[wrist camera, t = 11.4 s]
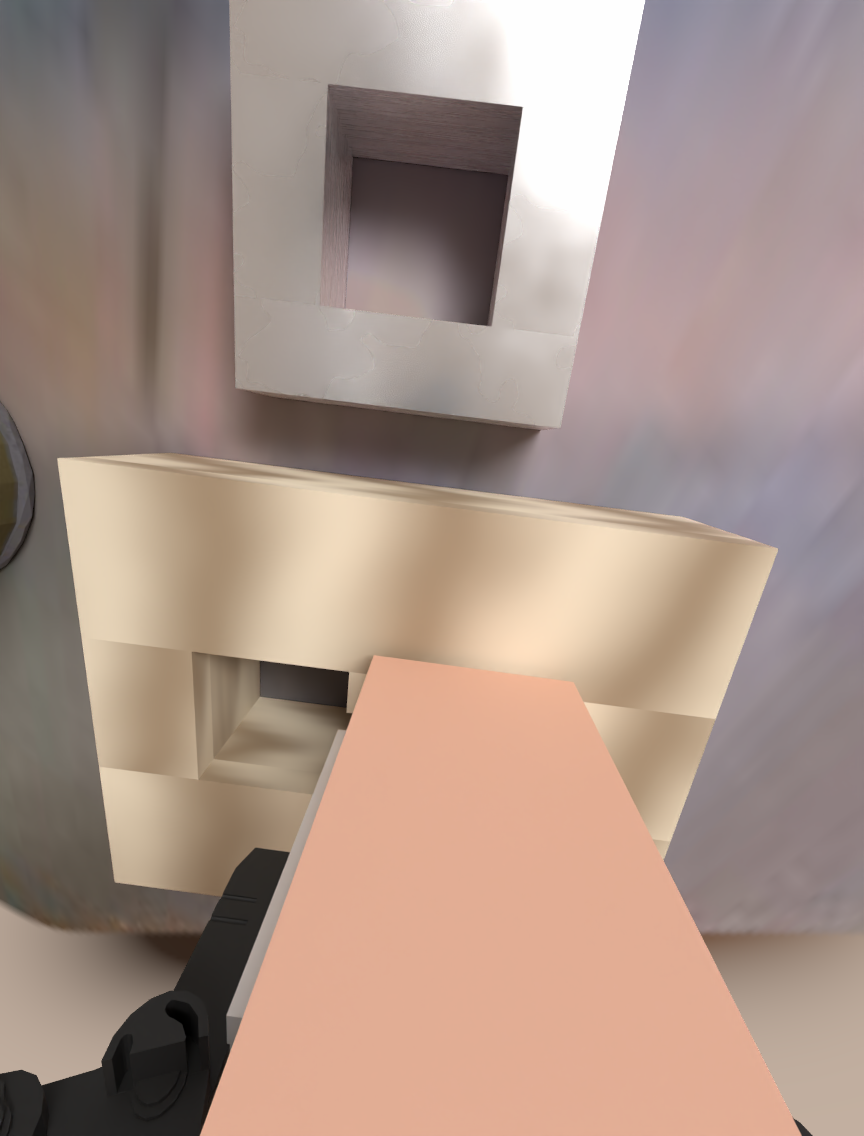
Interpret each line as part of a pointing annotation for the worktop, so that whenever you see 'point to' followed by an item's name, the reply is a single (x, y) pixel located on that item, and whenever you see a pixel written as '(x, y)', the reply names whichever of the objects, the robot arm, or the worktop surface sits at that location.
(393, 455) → the worktop surface
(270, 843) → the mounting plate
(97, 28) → the worktop surface
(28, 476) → the canister
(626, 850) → the stud block
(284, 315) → the frame
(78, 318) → the worktop surface
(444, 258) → the worktop surface
